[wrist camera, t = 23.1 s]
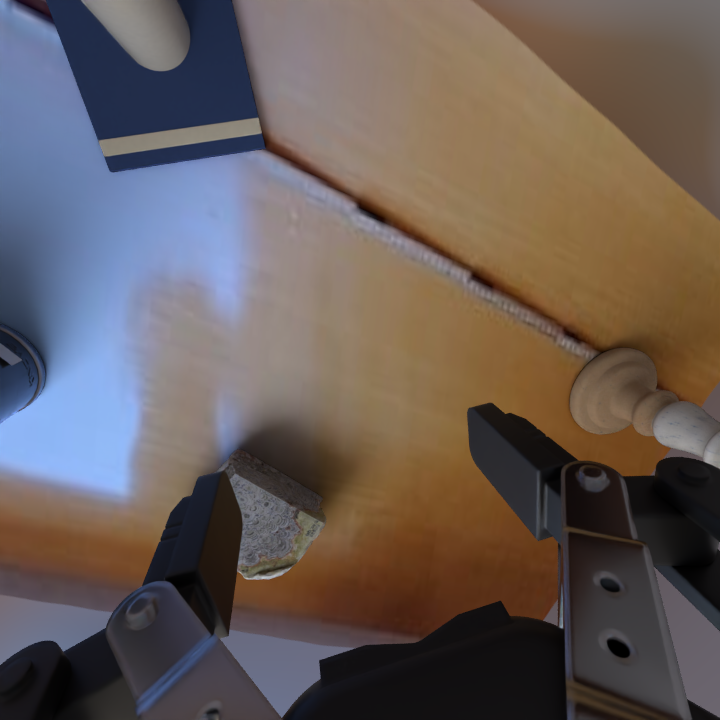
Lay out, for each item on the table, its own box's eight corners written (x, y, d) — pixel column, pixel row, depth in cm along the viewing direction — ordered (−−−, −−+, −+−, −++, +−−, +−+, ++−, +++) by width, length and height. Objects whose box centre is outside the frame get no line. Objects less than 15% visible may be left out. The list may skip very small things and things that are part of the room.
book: (112, 172, 31) (109, 171, 31) (2, -125, 25) (-4, -132, 24) (265, 148, 33) (265, 147, 32) (200, -136, 26) (198, -143, 26)
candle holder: (557, 378, 47) (735, 475, 29) (639, 328, 47) (871, 394, 29) (581, 445, 52) (747, 566, 33) (656, 400, 52) (864, 497, 33)
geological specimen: (222, 467, 37) (339, 532, 41) (232, 438, 43) (333, 498, 47) (161, 544, 38) (281, 599, 43) (178, 505, 44) (282, 557, 48)
